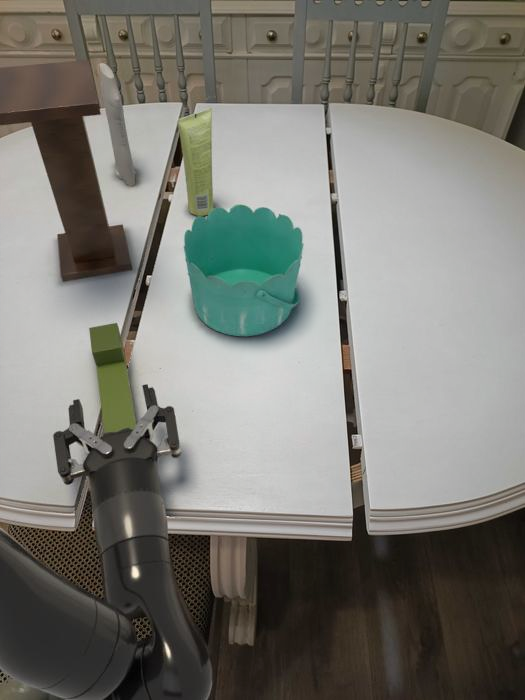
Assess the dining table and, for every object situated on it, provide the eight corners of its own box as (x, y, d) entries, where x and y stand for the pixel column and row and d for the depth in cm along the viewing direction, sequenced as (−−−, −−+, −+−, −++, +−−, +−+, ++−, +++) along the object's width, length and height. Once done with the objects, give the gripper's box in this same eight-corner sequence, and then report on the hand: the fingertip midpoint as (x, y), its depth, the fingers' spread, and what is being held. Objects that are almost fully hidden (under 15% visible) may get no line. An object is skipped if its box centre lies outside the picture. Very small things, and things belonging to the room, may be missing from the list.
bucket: (195, 263, 96) (189, 201, 86) (296, 265, 96) (301, 204, 87) (184, 341, 84) (176, 279, 74) (300, 344, 84) (307, 282, 74)
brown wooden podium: (65, 309, 88) (-5, 113, 63) (59, 240, 100) (-2, 53, 75) (138, 295, 90) (98, 102, 66) (124, 230, 102) (85, 46, 78)
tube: (191, 200, 109) (183, 104, 95) (216, 202, 109) (211, 106, 94) (186, 216, 106) (177, 119, 91) (211, 218, 105) (206, 121, 91)
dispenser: (110, 164, 118) (88, 58, 101) (128, 161, 119) (109, 55, 102) (123, 189, 111) (102, 80, 95) (142, 184, 113) (124, 76, 96)
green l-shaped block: (112, 474, 68) (102, 449, 64) (97, 354, 81) (88, 327, 77) (143, 466, 69) (136, 442, 64) (124, 349, 82) (117, 322, 78)
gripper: (191, 478, 56) (164, 364, 66) (51, 514, 53) (45, 390, 63) (196, 509, 62) (170, 400, 72) (70, 543, 59) (61, 425, 69)
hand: (112, 395), depth 68 cm, fingers open, 8 cm apart
